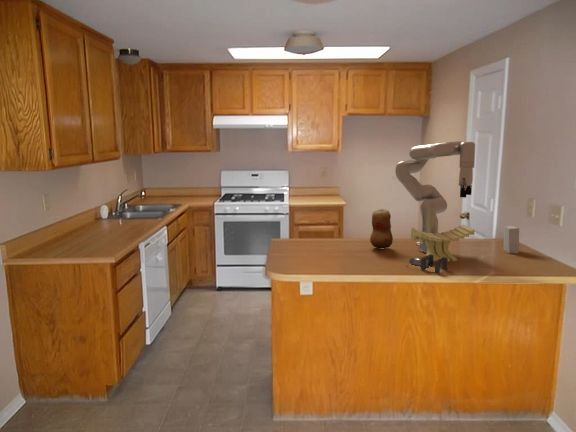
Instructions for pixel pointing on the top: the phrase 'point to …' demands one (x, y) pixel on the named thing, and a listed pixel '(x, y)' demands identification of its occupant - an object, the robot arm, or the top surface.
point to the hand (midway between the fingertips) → (465, 196)
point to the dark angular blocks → (437, 264)
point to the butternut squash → (381, 229)
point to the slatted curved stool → (441, 240)
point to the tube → (418, 262)
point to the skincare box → (511, 239)
